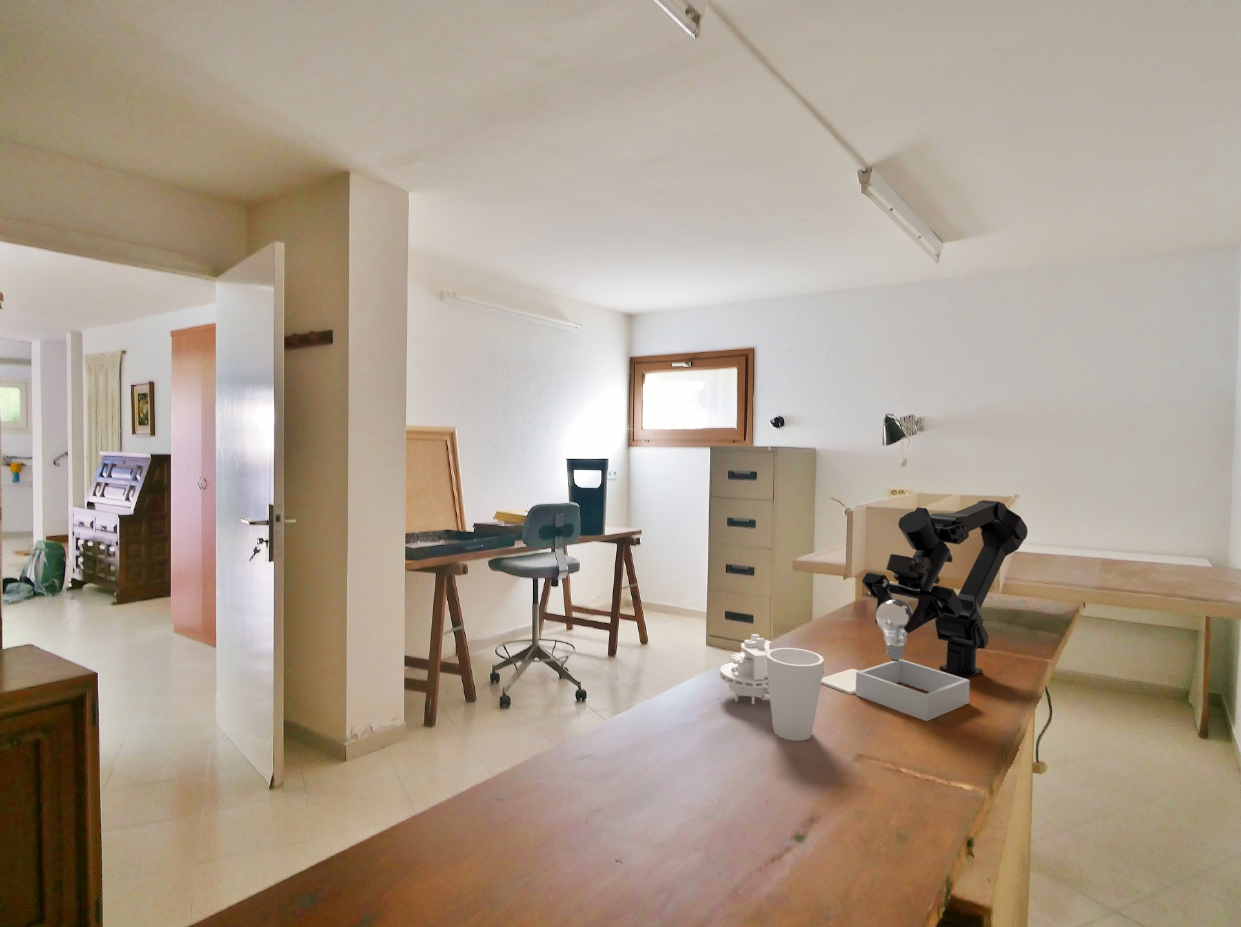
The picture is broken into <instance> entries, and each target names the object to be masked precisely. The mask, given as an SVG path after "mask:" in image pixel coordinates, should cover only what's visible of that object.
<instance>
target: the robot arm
mask: <svg viewBox="0 0 1241 927" xmlns="http://www.w3.org/2000/svg"><path fill="white" fill-rule="evenodd" d="M897 524H898V529H899V530H900V532H901V534H903V537H904V539H905V540H906V541H907V543H908V545H909V546H910V548H912V549H913V550H914V551H915V552H914V553H913V556H912V557H910V556H907V555H901V554H895V553H890V556H889V559H888V560H887V561H888V562H887V566H886V568H885V569H886V571H890V572H892V573H893V574H894V575H893V578H894V579H895V580H894V581H897V582H898V583H894V582H890V580H889V579H888V577H887V576H886V574H883V573H877V572H873V571H870V572H869V571H867V572H866V573H865V574H864V576H863V578H862V580H861V582H862V583H863V585H864V586H865V588H866V589H867V591H868V593H869V594H870V596H872V597H873V598H875V599H877V603H876V604H877V605H876V612H875V614H876V613H877V609H878V608H879V606H880V605H881V604H882V603H883V602H884V601H886V600H889V599H893V596H894V595H898V596H903V597H906V598H910V599H914V600H915V599H916V600H917V606H916V607H915V609H914V611H913V614H912V616H911V618H910V621H909V623H908V624H907V626H906V629H905V631H906V632H907V633H909V634H911V633H912V632H914V631H915V630H917V629H918V628H920V627H922V626H923V625H926V624H927V623H929V622H931V621H932V620H933V621H934V624H935V628H936V630H935V631H936V635H937V639H938V640H940V641H946V642H947V644H946V659H945V660H946V663H945V664H942V665H939V666H938V668H939V669H940V670H942V671H946V672H949V673H951V674H954V675H955V674H956V675H959V676H962V677H966V678H971V677H973V676H976V675H978V674H981V673H983V668H979V667H977V652H978V651H977V650H978V649H980V650H981V649H982V650H983V649H986V648H987V646H988V643H989V638H990V637H989V636H990V635H989V634H988V632H987V631H986V629H985V627H984V625H983V624H984V617H983V613H982V606H983V604H984V602H985V599H986V597H987V595H988V593H989V591H990V589H991V587H992V585H993V583H994V581H995V579H996V577H997V575H998V573H999V571H1000V569H1001V566H1002V565H1003V562H1004V560H1005V558H1006V557H1007V556H1008V555H1010V554H1012V553H1014V552H1016V551H1018V550H1019V548H1020V547H1021V545H1022V544H1023V543H1024V541H1025V540H1026V539H1027V536H1028V526H1027V525H1026V523H1025V521H1024V520H1023V518H1022V517H1021V516H1020V515H1019V514H1016V513H1015V512H1014V511H1012V510H1010V509H1008V507H1007V506H1006V504H1005V503H1004V502H1001V501H997V500H986V499H982V500H978V501H977V503H975V504H972V505H970V506H966V507H965V508H962V509H959V510H957V511H955V512H934V513H931V514H930V513H929V510H928V509H927V508H926V507H919V506H916V508H915V510H914V511H910V512H908V513H906V514H904V515H903V516H900V519H899V520H898V523H897ZM976 529H979V530H980V535H981V538H982V543H983V545H982V547H981V549H980V551H979V553H978V555H977V557H976V559H975V561H974V563H973V564H972V567H971V569H970V570H969V573H968V575H967V576H966V578H965V581H964V583H963V585H962V587H961V588H960V591H959V593H958V594H957V593H956V591H955V590H954V588H952V587H947V586H946V587H945V586H941V585H938V584H939V583H940V581H941V579H940V577H939V574H940V573H941V570H942V569H943V567H944V565H945V564H946V562H947V563H952V562H953V555H952V554H951V548H949V546H948V545H947V544H951V545H961V544H962V543H964V542H965V541H966V540H967V539H968V538H969V537H970V532H972V531H973V530H976ZM934 584H935V585H934ZM936 584H937V585H936ZM874 622H875V624H876V625H877V626H879V625H878V623H877V620H876V619H875V620H874Z"/></svg>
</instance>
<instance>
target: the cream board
mask: <svg viewBox="0 0 1241 927" xmlns="http://www.w3.org/2000/svg"><path fill="white" fill-rule="evenodd" d="M858 671H860V670H859V669H854V668H850V669H847V670H843V671H840V672H837V673H834V674H830V675H827V676H824V677H823V676H822V679H821V685H823V684H824V686H826V687H829V688H831V689H833V690H834V689H835V690H837V691H840V692H842V691H843V692H842V693H845V694H848V695H853V694H856V672H858Z"/></svg>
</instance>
